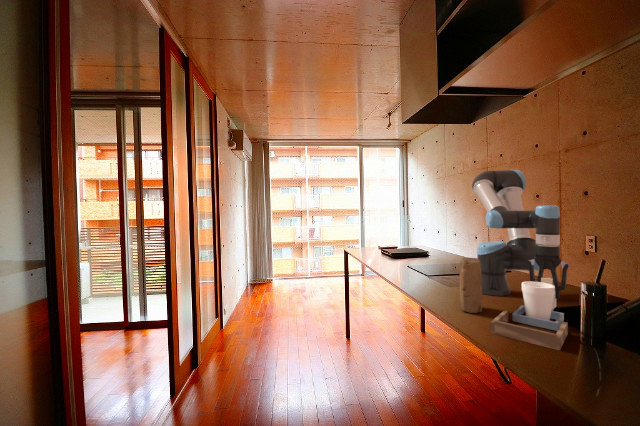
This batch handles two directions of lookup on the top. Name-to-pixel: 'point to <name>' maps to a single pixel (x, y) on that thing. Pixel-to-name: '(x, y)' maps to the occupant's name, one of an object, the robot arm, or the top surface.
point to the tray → (537, 322)
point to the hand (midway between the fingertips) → (547, 305)
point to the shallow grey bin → (528, 332)
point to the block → (470, 285)
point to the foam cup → (538, 299)
